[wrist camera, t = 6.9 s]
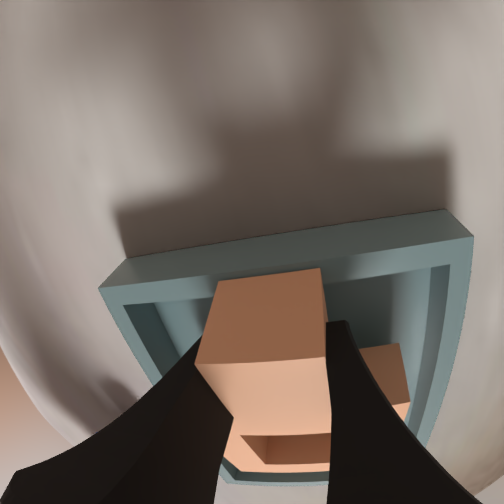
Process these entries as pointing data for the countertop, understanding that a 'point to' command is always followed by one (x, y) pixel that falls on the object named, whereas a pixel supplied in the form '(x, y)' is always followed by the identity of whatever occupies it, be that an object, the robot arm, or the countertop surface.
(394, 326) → the tray
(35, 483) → the robot arm
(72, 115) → the countertop surface
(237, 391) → the collar
